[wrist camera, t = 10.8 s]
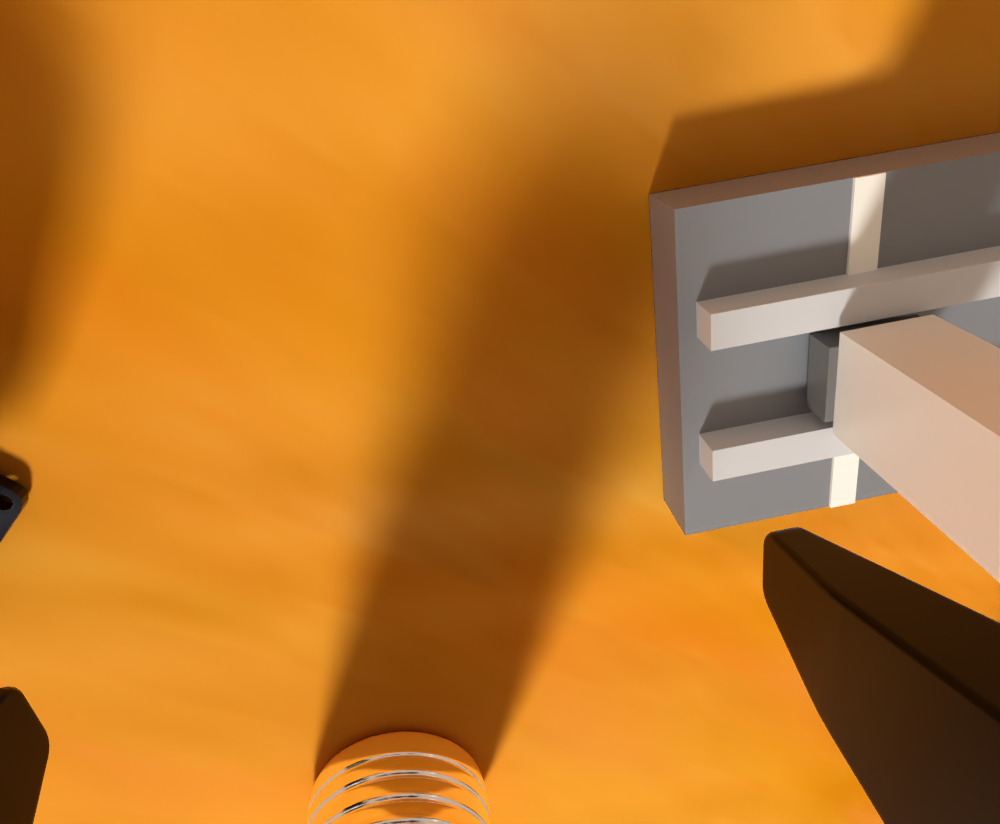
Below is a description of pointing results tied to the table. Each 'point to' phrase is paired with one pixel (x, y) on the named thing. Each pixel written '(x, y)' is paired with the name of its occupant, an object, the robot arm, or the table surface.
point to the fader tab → (919, 418)
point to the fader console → (804, 312)
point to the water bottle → (400, 783)
